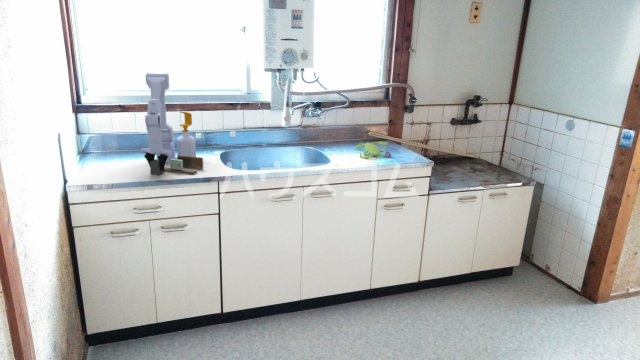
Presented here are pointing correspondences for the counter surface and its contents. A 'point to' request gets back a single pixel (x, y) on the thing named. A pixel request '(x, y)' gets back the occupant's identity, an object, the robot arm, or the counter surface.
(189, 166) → the door frame
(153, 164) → the block
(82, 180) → the counter surface
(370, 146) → the figurine
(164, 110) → the robot arm
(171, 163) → the pale green block
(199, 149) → the counter surface
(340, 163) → the counter surface
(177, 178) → the counter surface
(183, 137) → the soap bottle
